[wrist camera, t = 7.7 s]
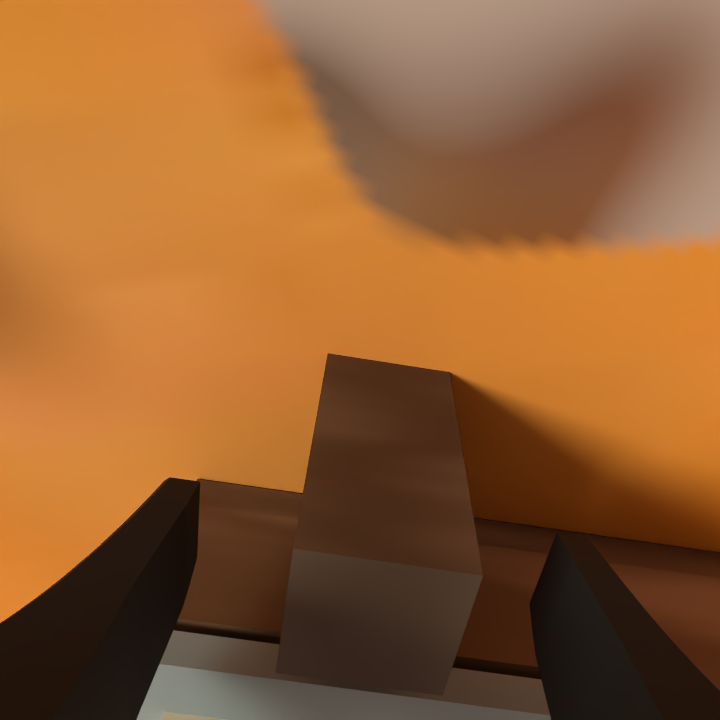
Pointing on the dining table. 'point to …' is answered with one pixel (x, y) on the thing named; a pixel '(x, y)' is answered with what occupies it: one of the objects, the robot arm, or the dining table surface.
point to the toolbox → (493, 600)
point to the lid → (315, 690)
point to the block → (382, 533)
